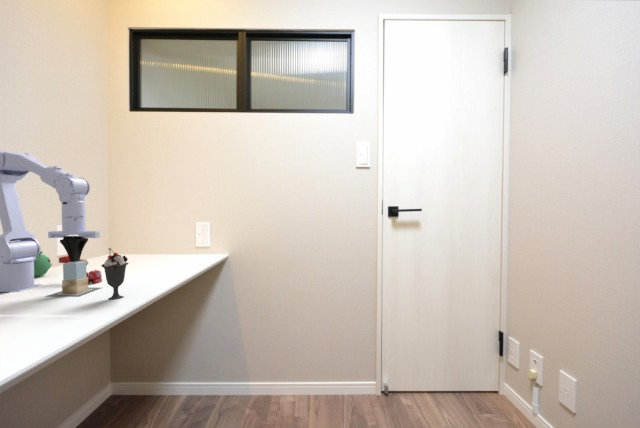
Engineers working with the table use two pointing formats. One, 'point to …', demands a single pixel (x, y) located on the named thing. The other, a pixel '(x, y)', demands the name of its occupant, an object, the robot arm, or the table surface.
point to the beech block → (74, 286)
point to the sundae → (115, 272)
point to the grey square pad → (59, 294)
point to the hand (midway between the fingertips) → (74, 261)
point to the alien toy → (41, 265)
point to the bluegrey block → (74, 270)
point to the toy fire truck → (92, 276)
